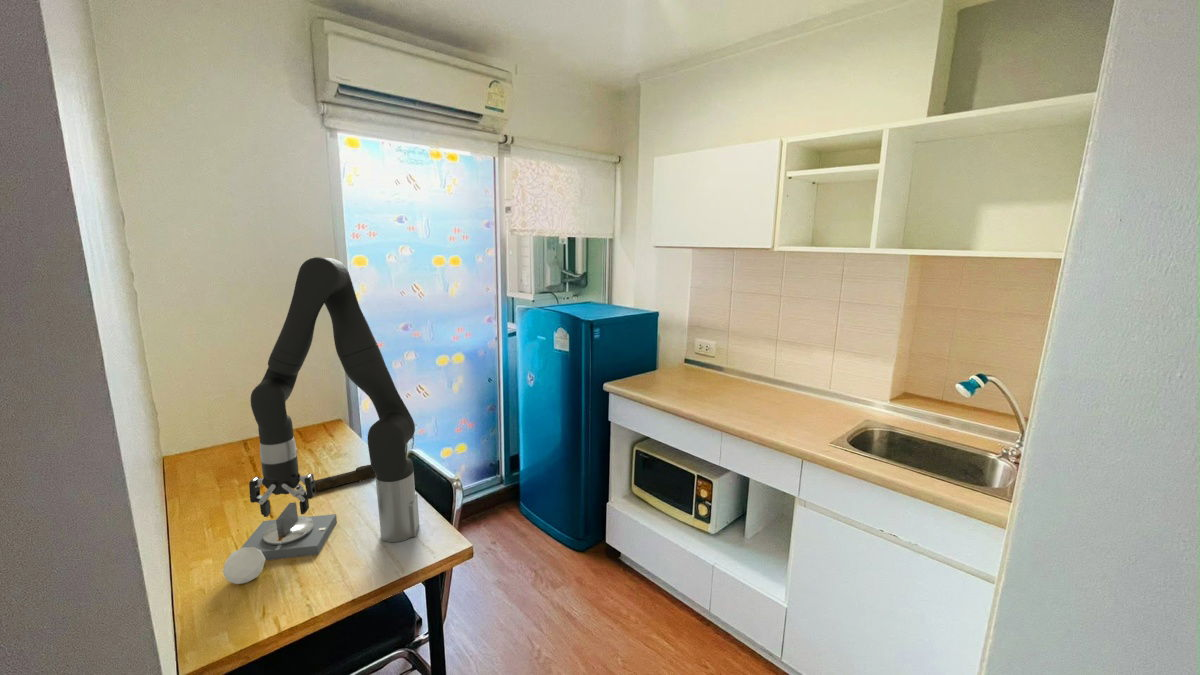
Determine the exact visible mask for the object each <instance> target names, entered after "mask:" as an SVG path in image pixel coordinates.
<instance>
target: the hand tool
mask: <svg viewBox="0 0 1200 675" xmlns="http://www.w3.org/2000/svg"><path fill="white" fill-rule="evenodd" d="M372 477H373V478H374V477H375V472H374V470H373V469H372V466H371V464H366V465H361V466H359V467H356V468H355V469H354V470H352V471H348V472H343V473H339V474H336V475H332V476H328V477H323V478H320V479H314V482H315V488H316V493H317V492H318V493H319V492H321V491H323V490H327V489H331V488H335V487H339V486H341V485H345V484H349V483H353V482H359V481H361V482H364V481H367V480H369V478H370V479H372ZM375 478H376V477H375ZM363 480H364V481H363Z"/></svg>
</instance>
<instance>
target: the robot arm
mask: <svg viewBox="0 0 1200 675" xmlns="http://www.w3.org/2000/svg"><path fill="white" fill-rule="evenodd" d="M293 289H294V290H293V295H292V299H291V301H290V305H289V308H288V312H287V315H286V318H285V320H284V324H283V325H282V327H281V328H282V329H281V331H280V333H279V335H278V337H277V339H276V341H275V344H274V346H273V349H272V351H271V353H270V355H269V358H268V360H267V361H268V362H267V366H268V367H267V369H266V371H265V373H264V376H263V377H262V379H261V381H260V383H259V384H257V385H256V386H255V387H254V389H253V390H252V391H251V394H250V407H251V411H252V414H253V416H254V420H255V422H256V424H257V426H258V427H257V428H258V438H259V456H260V462H261V474H262V476H263V478H261V477H260V476H254V477H253V478H252V479H251V480H250V481H249V482H248V485H249V486H248V488H249V500H250V503H252V504H253V503H257V504H259V507H260V514H261V515H262V516H263V518H268V517H269V516H270V515H271V512H272V511H271V503H270V499H269V498H270V496H271V495H272V494H273V495H275V496H279V495H289V494H290V495H291V496H293V497H295V498H297V499H298V501H299V510H300V511H299V512H300V515H305V514H306V512H308V510H309V508H310V501H309V500H311V499H313V497H315V495H316V494H317V492H316V488H315V482H314V480H315V478H314V474H313V473H312V472H311V473H310V472H309V473H308V474H307V475H301V474H300V473H299V461H298V449H297V444H296V440H295V434H294V427H293V421H292V418H291V416H290V415H288V413H287V407H286V402H287V400H288V399H289V398H290V396H291V395H292V392H293V390H294V387H295V384H296V383H297V378H298V375H299V372H300V370H301V369H302V366H303V365H304V363H305V360H306V358H307V355H308V354H309V351H310V349H311V346H312V342H313V338H314V332H315V326H316V322H317V319H318V316H319V314H320V312H321V309H322V308H323V306H324V305H325V307H326V309H327V311H328V314H329V316H330V319H331V324H332V333H333V341H334V347H335V350H336V355H337V357H338V359H339V361H340V363H341V366H342V368H343V369H344V372H345V374H346V376H347V377H348V378H349V379H350V381H351V382H352V383H354V385H356V387H358V388H359V389H360V390H361V391H362V392H364V394H366V395H367V397H368V398H369V399H370V401H371V403H372V404H373V406H374V408H375V410H376V413H377V417H378V420H377V421H376V422H374V423H373V424H372V425H371V426H369V430H368V432H367V448H368V449H367V450H368V454H369V461H370V465H371V466H372V469H373V470H374V472H375V486H376V496H377V507H378V517H379V520H378V521H379V531H380V537H381V539H382V540H383V541H384V542H388V543H398V542H403V541H406V540H408V539H410V538H415V537H416V536H417V533H418V531H419V527H420V516H419V515H420V514H419V503H418V502H419V500H418V493H417V492H416V489H415V488H416V486H415V474H414V473H415V471H414V462H413V460H412V459H411V458H410V457H407V455H406V454H407V453H406V446H405V445H407V444H408V443H409V441H410V440H411V439H412V438H413V437H414V434H415V432H416V425H415V421H414V419H413V417H412V415H411V413H410V410H409V409H408V407H407V406H406V404H405V403H404V401H403V399H402V398H401V396H400V394H399V392H398V390H397V387H396V385H395V382H394V380H393V378H392V376H391V374H390V372H389V369H388V367H387V365H386V362H385V360H384V357H383V354H382V352H381V349H380V347H379V345H378V343H377V341H376V339H375V337H374V334H373V332H372V330H371V327H370V325H369V323H368V321H367V319H366V317H365V315H364V313H363V312H362V309H361V306H360V304H359V300H358V298H357V294H356V292H355V287H354V285H353V282H352V277H351V275H350V272H349V270H348V268H347V267H346V266H345V264H344V263H342V262H341V261H340V260H338V259H336V258H333V257H321V256H316V257H312V258H309V259H307V260H305V261H304V262H303V263H302V264H301V265H300V267H299V269H298V273H297V276H296V281H295V284H294V288H293ZM300 482H302V484H303V485H304V486H305V489H304V486H303V485H302V484H301V483H300ZM262 485H263V487H265V488H266V489H267V490H266V491H265V492H264V494H263V495H262V494H261V486H262Z"/></svg>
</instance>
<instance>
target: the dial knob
mask: <svg viewBox="0 0 1200 675" xmlns="http://www.w3.org/2000/svg"><path fill="white" fill-rule="evenodd" d="M310 517H311V516H305V515H298V507H297V502H296V501H294V502H289V503H288V505H287V506H286V507H285V508H284V509H283V511H282V512H281V513H280V515H278V517H277V518H276V519H275V520H276V523H274V524H272V525H271V526H269V527H268V528H267V529H266V530H265V531H264V533H263V541H264V542H265V543H266V544H269V545H284V544H288V543H291V542H294V541H297V540H299V539H301V538H303V537H305V536H306V535H308V534H309V533H310V532H311V531H312V529H313V527H314V523H313V520H312V519H311V518H310Z"/></svg>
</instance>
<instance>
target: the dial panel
mask: <svg viewBox="0 0 1200 675" xmlns="http://www.w3.org/2000/svg"><path fill="white" fill-rule="evenodd" d="M309 517H310V518H311V519H312V520H313V523H314V527H313V529H312V531H311V532H310V533H309V534H308V535H306V536H305V537H303V538H301V539H299V540H297V541H294V542H291V543H288V544H284V545H269V544H266V543H265V542H264V541H263V533H264V531H265V530H266V529H267V528H268V527H269V526H271V525H272V524H274V523H276V520H277V519H271V520H270V519H269V520H263V521H262V522H261V523H260V524H259V526H258V527H257V528H256V529H255V530H254V532H253V533H252V534H251V535H250V536H249V538H248V539H247V540H246V541H245V542H244V544H243V545H242V546H241V547H240V548H239V549H241V548H242V547H255V548H257V549H259V550H261V551H262V553H263V555H264V557H265V561H273V560H280V559H289V558H299V557H308V556H318V555H320V552H322V550H323V547H324V545H325V544H326V542H327V540H328V538H330V535H331V533H332V531H333V530H334V528H335V526H336V525H337V523H338V521H337V514H336V513H332V514H324V515H322V514H321V515H315V516H314V515H313V516H309Z"/></svg>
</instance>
